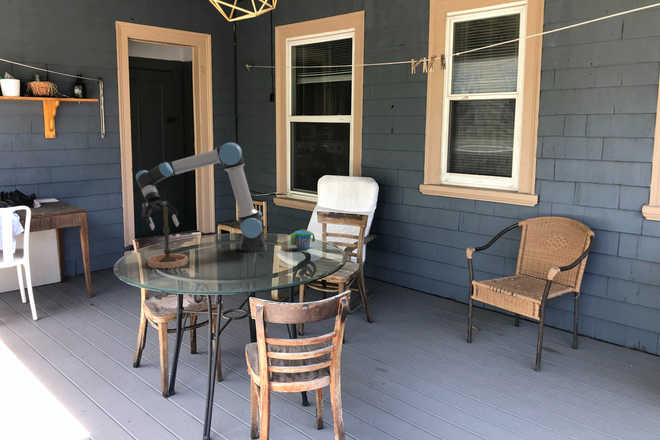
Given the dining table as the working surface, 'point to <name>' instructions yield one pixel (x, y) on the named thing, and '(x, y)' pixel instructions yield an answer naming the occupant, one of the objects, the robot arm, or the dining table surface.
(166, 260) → the candlestick holder
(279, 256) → the dining table surface
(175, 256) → the saucer
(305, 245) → the snack cup
